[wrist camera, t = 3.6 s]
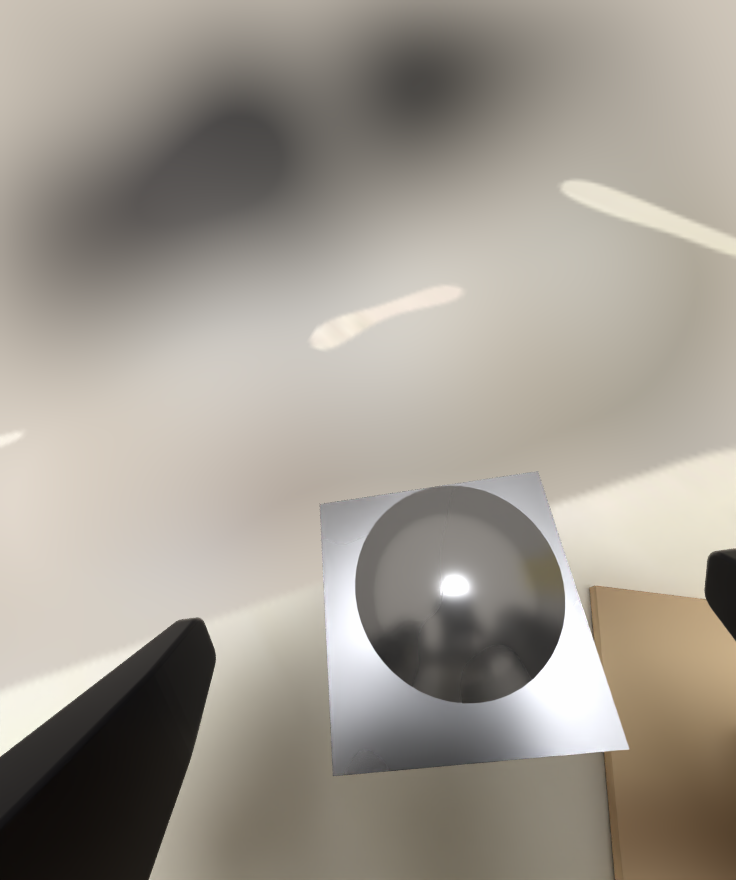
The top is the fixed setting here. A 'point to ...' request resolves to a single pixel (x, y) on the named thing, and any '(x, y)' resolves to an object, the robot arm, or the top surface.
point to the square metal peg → (457, 631)
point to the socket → (669, 735)
